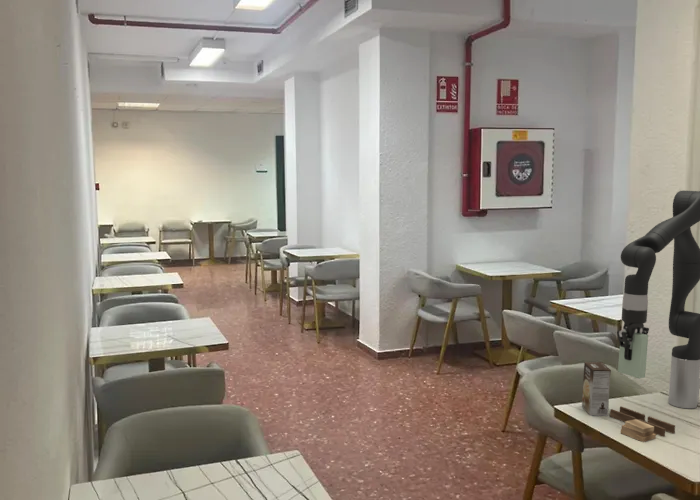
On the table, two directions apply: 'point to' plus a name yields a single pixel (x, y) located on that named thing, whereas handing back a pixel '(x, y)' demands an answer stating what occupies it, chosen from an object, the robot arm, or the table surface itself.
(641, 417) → the rack
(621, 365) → the pale green block
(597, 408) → the coffee box
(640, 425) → the offcut stack
